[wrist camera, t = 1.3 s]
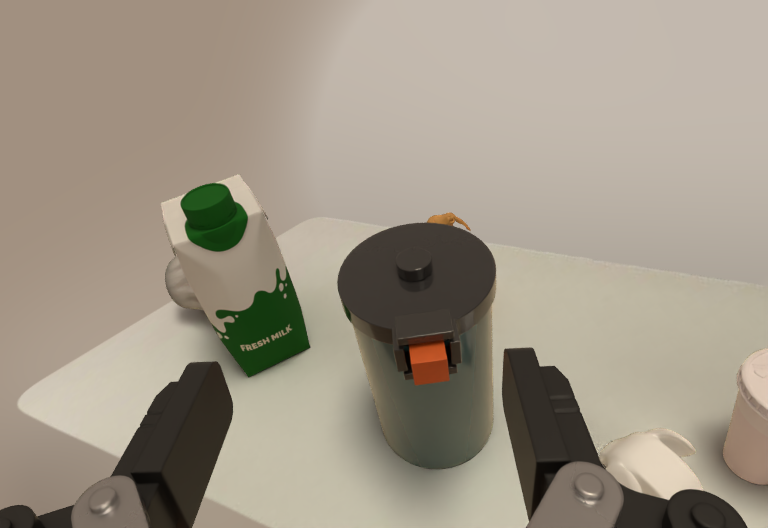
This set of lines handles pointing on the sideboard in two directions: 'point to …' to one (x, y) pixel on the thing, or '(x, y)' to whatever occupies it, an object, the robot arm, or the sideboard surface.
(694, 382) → the sideboard surface
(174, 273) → the cupcake
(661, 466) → the elephant figurine
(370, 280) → the jug
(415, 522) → the sideboard surface
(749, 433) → the smoothie
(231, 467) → the sideboard surface
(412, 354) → the lid button
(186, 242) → the milk carton
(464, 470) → the sideboard surface
